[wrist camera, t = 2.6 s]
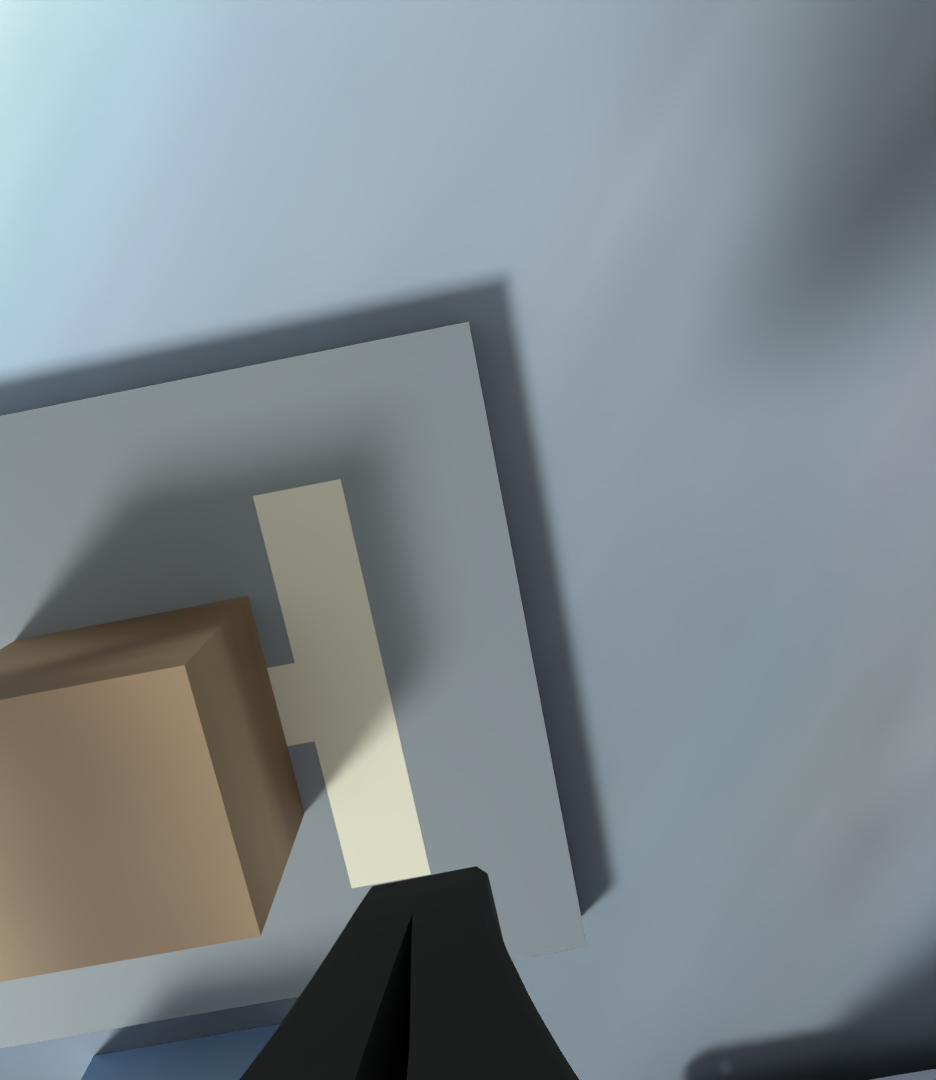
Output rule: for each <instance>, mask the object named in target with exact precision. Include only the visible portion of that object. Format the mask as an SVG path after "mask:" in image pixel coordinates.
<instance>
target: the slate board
mask: <svg viewBox="0 0 936 1080" xmlns="http://www.w3.org/2000/svg"><path fill="white" fill-rule="evenodd" d="M246 596H248V597H249V601H250V605H251V609H252V613H253V616H254V620H255V624H256V628H257V632H258V636H259V639H260V643H261V647H262V651H263V655H264V659H265V663H266V666H267V670H268V674H269V678H270V682H271V686H272V690H273V693H274V697H275V701H276V705H277V709H278V713H279V716H280V720H281V724H282V728H283V732H284V736H285V740H286V743H287V747H288V751H289V755H290V759H291V763H292V767H293V770H294V774H295V778H296V782H297V786H298V790H299V793H300V797H301V801H302V805H303V809H304V816H303V819H302V822H301V824H300V827H299V830H298V833H297V836H296V839H295V841H294V844H293V847H292V850H291V853H290V855H289V858H288V861H287V864H286V867H285V870H284V872H283V875H282V878H281V881H280V884H279V887H278V889H277V892H276V895H275V898H274V901H273V903H272V906H271V909H270V912H269V915H268V918H267V920H266V923H265V926H264V929H263V932H262V934H261V936H260V937H254V938H248V939H243V940H237V941H231V942H226V943H220V944H214V945H208V946H203V947H197V948H191V949H186V950H180V951H174V952H169V953H163V954H157V955H152V956H146V957H140V958H135V959H129V960H123V961H117V962H112V963H106V964H100V965H95V966H89V967H83V968H78V969H72V970H66V971H61V972H55V973H49V974H43V975H38V976H32V977H26V978H21V979H15V980H9V981H4V982H0V1048H6V1047H11V1046H17V1045H23V1044H29V1043H35V1042H40V1041H46V1040H52V1039H58V1038H64V1037H69V1036H75V1035H81V1034H87V1033H92V1032H98V1031H104V1030H110V1029H116V1028H121V1027H127V1026H133V1025H139V1024H145V1023H150V1022H156V1021H162V1020H168V1019H174V1018H179V1017H185V1016H191V1015H197V1014H202V1013H208V1012H214V1011H220V1010H226V1009H231V1008H237V1007H243V1006H249V1005H255V1004H260V1003H266V1002H272V1001H278V1000H284V999H289V998H295V997H299V996H300V995H301V993H302V992H303V990H304V989H305V987H306V986H307V985H308V983H309V982H310V980H311V979H312V977H313V976H314V974H315V973H316V971H317V970H318V968H319V967H320V965H321V963H322V962H323V960H324V959H325V957H326V956H327V954H328V953H329V951H330V950H331V948H332V947H333V945H334V943H335V942H336V940H337V939H338V937H339V936H340V934H341V932H342V931H343V929H344V928H345V926H346V925H347V923H348V921H349V920H350V918H351V917H352V915H353V914H354V912H355V911H356V909H357V908H358V906H359V905H360V903H361V902H362V900H363V899H364V897H365V896H366V894H367V893H368V891H369V890H370V889H371V887H372V886H376V885H381V884H386V883H391V882H397V881H402V880H407V879H412V878H417V877H423V876H428V875H433V874H438V873H443V872H449V871H454V870H459V869H464V868H469V867H475V866H477V867H478V868H480V869H481V870H483V871H484V872H486V873H487V874H488V877H489V881H490V885H491V889H492V894H493V898H494V902H495V907H496V911H497V915H498V919H499V924H500V928H501V932H502V937H503V941H504V944H505V946H506V949H507V951H508V953H509V956H510V958H511V960H515V959H521V958H527V957H533V956H538V955H544V954H550V953H556V952H561V951H567V950H573V949H579V948H585V947H587V945H586V939H585V934H584V929H583V924H582V918H581V913H580V908H579V902H578V897H577V892H576V886H575V881H574V876H573V871H572V865H571V860H570V855H569V849H568V844H567V839H566V834H565V828H564V823H563V818H562V812H561V807H560V802H559V796H558V791H557V786H556V781H555V775H554V770H553V765H552V759H551V754H550V749H549V744H548V738H547V733H546V728H545V722H544V717H543V712H542V707H541V701H540V696H539V691H538V685H537V680H536V675H535V669H534V664H533V659H532V654H531V648H530V643H529V638H528V632H527V627H526V622H525V617H524V611H523V606H522V601H521V595H520V590H519V585H518V580H517V574H516V569H515V564H514V558H513V553H512V548H511V542H510V537H509V532H508V527H507V521H506V516H505V511H504V505H503V500H502V495H501V490H500V484H499V479H498V474H497V468H496V463H495V458H494V452H493V447H492V442H491V437H490V431H489V426H488V421H487V415H486V410H485V405H484V400H483V394H482V389H481V384H480V378H479V373H478V368H477V363H476V357H475V352H474V347H473V341H472V336H471V331H470V325H469V322H464V323H459V324H454V325H449V326H444V327H439V328H434V329H429V330H424V331H419V332H414V333H409V334H404V335H399V336H394V337H389V338H384V339H380V340H375V341H370V342H365V343H360V344H355V345H350V346H345V347H340V348H335V349H330V350H325V351H320V352H315V353H310V354H305V355H300V356H295V357H290V358H285V359H280V360H275V361H270V362H265V363H260V364H255V365H250V366H245V367H241V368H236V369H231V370H226V371H221V372H216V373H211V374H206V375H201V376H196V377H191V378H186V379H181V380H176V381H171V382H166V383H161V384H156V385H151V386H146V387H141V388H136V389H131V390H126V391H121V392H116V393H111V394H106V395H102V396H97V397H92V398H87V399H82V400H77V401H72V402H67V403H62V404H57V405H52V406H47V407H42V408H37V409H32V410H27V411H22V412H17V413H12V414H7V415H2V416H0V649H2V648H4V647H5V646H7V645H8V644H10V643H12V642H13V641H16V640H21V639H26V638H31V637H37V636H42V635H47V634H52V633H57V632H63V631H68V630H73V629H78V628H84V627H89V626H94V625H99V624H105V623H110V622H115V621H120V620H126V619H131V618H136V617H141V616H146V615H152V614H157V613H162V612H167V611H173V610H178V609H183V608H188V607H194V606H199V605H204V604H209V603H214V602H220V601H225V600H230V599H235V598H241V597H246Z"/></svg>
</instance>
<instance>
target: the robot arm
mask: <svg viewBox="0 0 936 1080" xmlns="http://www.w3.org/2000/svg"><path fill="white" fill-rule="evenodd" d="M239 1080H579V1079H578V1077H577V1076H576V1074H575V1073H574V1071H573V1070H572V1068H571V1066H570V1065H569V1063H568V1062H567V1060H566V1059H565V1057H564V1055H563V1054H562V1052H561V1051H560V1049H559V1047H558V1046H557V1044H556V1042H555V1040H554V1039H553V1037H552V1035H551V1034H550V1032H549V1030H548V1029H547V1027H546V1025H545V1024H544V1022H543V1020H542V1018H541V1017H540V1015H539V1013H538V1011H537V1009H536V1008H535V1006H534V1004H533V1002H532V1000H531V998H530V996H529V995H528V993H527V991H526V989H525V986H524V984H523V982H522V980H521V978H520V976H519V974H518V972H517V970H516V968H515V966H514V964H513V962H512V960H511V958H510V956H509V953H508V951H507V949H506V946H505V944H504V941H503V937H502V932H501V928H500V924H499V919H498V915H497V911H496V907H495V902H494V898H493V894H492V889H491V885H490V881H489V877H488V874H487V873H486V872H484V871H483V870H481V869H480V868H478V867H477V866H475V867H469V868H464V869H459V870H454V871H449V872H443V873H438V874H433V875H428V876H423V877H417V878H412V879H407V880H402V881H397V882H391V883H386V884H381V885H376V886H372V887H371V889H370V890H369V891H368V893H367V894H366V896H365V897H364V899H363V900H362V902H361V903H360V905H359V906H358V908H357V909H356V911H355V912H354V914H353V915H352V917H351V918H350V920H349V921H348V923H347V925H346V926H345V928H344V929H343V931H342V932H341V934H340V936H339V937H338V939H337V940H336V942H335V943H334V945H333V947H332V948H331V950H330V951H329V953H328V954H327V956H326V957H325V959H324V960H323V962H322V963H321V965H320V967H319V968H318V970H317V971H316V973H315V974H314V976H313V977H312V979H311V980H310V982H309V983H308V985H307V986H306V987H305V989H304V990H303V992H302V993H301V995H300V996H299V998H298V999H297V1001H296V1002H295V1004H294V1005H293V1007H292V1008H291V1009H290V1011H289V1012H288V1014H287V1015H286V1017H285V1018H284V1020H283V1021H282V1023H281V1024H280V1026H279V1027H278V1028H277V1030H276V1031H275V1033H274V1034H273V1035H272V1037H271V1038H270V1040H269V1041H268V1042H267V1044H266V1045H265V1046H264V1048H263V1049H262V1050H261V1051H260V1053H259V1054H258V1055H257V1057H256V1058H255V1059H254V1061H253V1062H252V1063H251V1065H250V1066H249V1067H248V1069H247V1070H246V1071H245V1073H244V1074H243V1075H242V1077H241V1078H240V1079H239ZM871 1080H936V1069H931V1070H925V1071H919V1072H913V1073H907V1074H901V1075H895V1076H889V1077H883V1078H877V1079H871Z"/></svg>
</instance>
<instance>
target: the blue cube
mask: <svg viewBox="0 0 936 1080" xmlns="http://www.w3.org/2000/svg"><path fill="white" fill-rule="evenodd" d="M279 1026H280V1024H277V1025H271V1026H265V1027H260V1028H254V1029H248V1030H242V1031H236V1032H230V1033H224V1034H219V1035H213V1036H207V1037H201V1038H195V1039H189V1040H183V1041H178V1042H172V1043H166V1044H160V1045H154V1046H148V1047H143V1048H137V1049H131V1050H125V1051H119V1052H113V1053H107V1054H102V1055H96V1056H94V1057H93V1058H92V1060H91V1062H90V1064H89V1066H88V1068H87V1070H86V1072H85V1073H84V1075H83V1077H82V1079H81V1080H239V1079H240V1078H241V1077H242V1075H243V1074H244V1073H245V1071H246V1070H247V1069H248V1067H249V1066H250V1065H251V1063H252V1062H253V1061H254V1059H255V1058H256V1057H257V1055H258V1054H259V1053H260V1051H261V1050H262V1049H263V1048H264V1046H265V1045H266V1044H267V1042H268V1041H269V1040H270V1038H271V1037H272V1035H273V1034H274V1033H275V1031H276V1030H277V1028H278V1027H279Z"/></svg>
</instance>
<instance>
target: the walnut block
mask: <svg viewBox="0 0 936 1080" xmlns="http://www.w3.org/2000/svg"><path fill="white" fill-rule="evenodd" d="M303 816H304V809H303V805H302V801H301V797H300V793H299V790H298V786H297V782H296V778H295V774H294V770H293V767H292V763H291V759H290V755H289V751H288V747H287V743H286V740H285V736H284V732H283V728H282V724H281V720H280V716H279V713H278V709H277V705H276V701H275V697H274V693H273V690H272V686H271V682H270V678H269V674H268V670H267V666H266V663H265V659H264V655H263V651H262V647H261V643H260V639H259V636H258V632H257V628H256V624H255V620H254V616H253V613H252V609H251V605H250V601H249V597H248V596H246V597H241V598H235V599H230V600H225V601H220V602H214V603H209V604H204V605H199V606H194V607H188V608H183V609H178V610H173V611H167V612H162V613H157V614H152V615H146V616H141V617H136V618H131V619H126V620H120V621H115V622H110V623H105V624H99V625H94V626H89V627H84V628H78V629H73V630H68V631H63V632H57V633H52V634H47V635H42V636H37V637H31V638H26V639H21V640H16V641H13V642H12V643H10V644H8V645H7V646H5V647H4V648H2V649H0V982H4V981H9V980H15V979H21V978H26V977H32V976H38V975H43V974H49V973H55V972H61V971H66V970H72V969H78V968H83V967H89V966H95V965H100V964H106V963H112V962H117V961H123V960H129V959H135V958H140V957H146V956H152V955H157V954H163V953H169V952H174V951H180V950H186V949H191V948H197V947H203V946H208V945H214V944H220V943H226V942H231V941H237V940H243V939H248V938H254V937H260V936H261V934H262V932H263V929H264V926H265V923H266V920H267V918H268V915H269V912H270V909H271V906H272V903H273V901H274V898H275V895H276V892H277V889H278V887H279V884H280V881H281V878H282V875H283V872H284V870H285V867H286V864H287V861H288V858H289V855H290V853H291V850H292V847H293V844H294V841H295V839H296V836H297V833H298V830H299V827H300V824H301V822H302V819H303Z"/></svg>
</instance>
